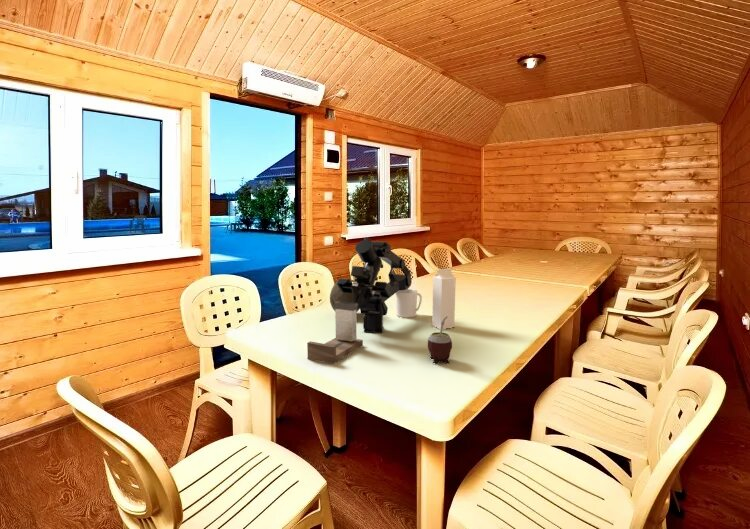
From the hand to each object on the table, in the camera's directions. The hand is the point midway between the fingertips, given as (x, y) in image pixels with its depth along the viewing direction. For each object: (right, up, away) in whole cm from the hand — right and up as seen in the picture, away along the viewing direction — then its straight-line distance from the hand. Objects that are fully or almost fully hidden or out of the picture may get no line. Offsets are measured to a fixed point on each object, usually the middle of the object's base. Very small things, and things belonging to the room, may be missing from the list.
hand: (355, 308), depth 145 cm
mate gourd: (+26, -14, -17) cm, 34 cm away
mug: (+20, -7, +34) cm, 40 cm away
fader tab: (-3, -9, -4) cm, 11 cm away
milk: (+32, -9, +18) cm, 38 cm away
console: (-5, -13, -9) cm, 17 cm away
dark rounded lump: (-5, -7, +34) cm, 35 cm away
